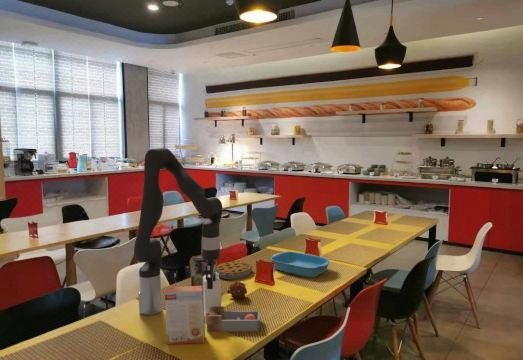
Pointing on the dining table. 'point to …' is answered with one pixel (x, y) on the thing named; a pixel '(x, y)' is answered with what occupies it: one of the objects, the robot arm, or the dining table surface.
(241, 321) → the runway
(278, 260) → the casserole dish
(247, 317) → the ball
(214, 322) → the ramp
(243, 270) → the pie
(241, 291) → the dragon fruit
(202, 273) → the coffee box
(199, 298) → the cracker box
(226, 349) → the dining table surface
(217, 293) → the milk carton
